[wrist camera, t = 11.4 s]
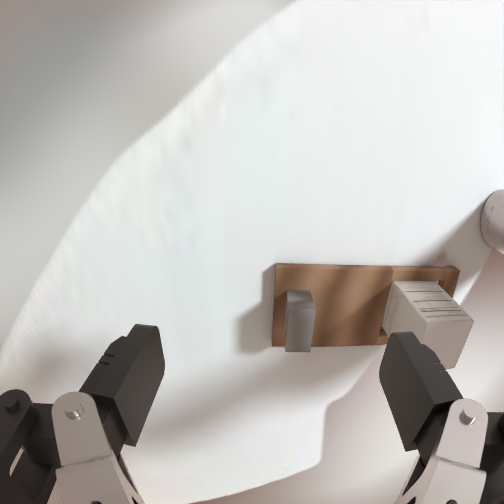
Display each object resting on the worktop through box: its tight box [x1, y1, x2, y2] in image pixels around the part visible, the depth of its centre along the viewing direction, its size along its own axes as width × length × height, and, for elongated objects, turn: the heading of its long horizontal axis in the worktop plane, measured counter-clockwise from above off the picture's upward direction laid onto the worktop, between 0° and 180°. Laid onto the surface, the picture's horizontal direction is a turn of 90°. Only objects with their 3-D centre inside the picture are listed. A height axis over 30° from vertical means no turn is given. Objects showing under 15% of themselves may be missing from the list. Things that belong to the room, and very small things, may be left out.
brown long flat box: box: [272, 263, 460, 352], centre depth 37 cm, size 27×12×6 cm, turn 89°
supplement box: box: [382, 281, 474, 369], centre depth 34 cm, size 7×7×13 cm
